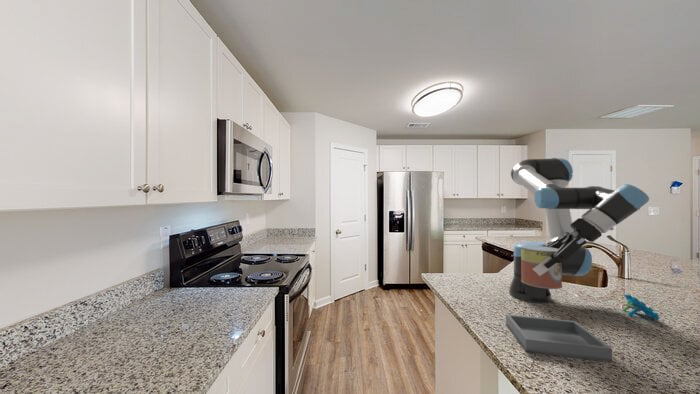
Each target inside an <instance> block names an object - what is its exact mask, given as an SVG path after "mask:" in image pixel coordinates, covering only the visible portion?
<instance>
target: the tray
mask: <svg viewBox="0 0 700 394" xmlns="http://www.w3.org/2000/svg"><path fill="white" fill-rule="evenodd" d="M505 325H506V327H507V328H508V330H509V331H510V332H511V334H512V335H513V336H514V338H515V339H516V341H517V342H518V343H519V345H520V346H521V347H522V349H523V350H524V351H525V352H527V353H534V354H543V355H551V356H558V357H566V358H572V359H573V358H575V359H582V360H590V361H591V360H592V361H599V362H604V363H605V362H606V363H613V348H611V347H610V346H609V345H608V344H607V343H605V342H604V341H603V340H601V339H600V338H598V337H597V336H596V335H594V333H592V332H591V331H589V330H587V329H586V328H585V327H584V326H582V325H581V324H579V322H577V321H576V320H568V319H567V320H566V319H558V318H557V319H556V318H549V317H548V318H547V317H536V316H524V315H514V314H507V313H506V314H505Z"/></svg>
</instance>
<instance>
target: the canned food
mask: <svg viewBox="0 0 700 394" xmlns="http://www.w3.org/2000/svg"><path fill="white" fill-rule="evenodd" d="M557 250H558V249H557V248H552V247H544V246H521V276H522V280H521V281H522V282H523V283H525V284H527V285H530V286H534V287H539V288H545V289H549V290H561V289H562V288H563V282H562V281H563V275H562V263H558V264H556V265H555V266H553V267H552V268H551V269H549V270H548V271H547V272H545V273H544V274H542V275H541V276H539V275H538V274H537V273H536V272H535V271H534V270H533V268H534V267H536V266H537V265H539V264H540V263H541V262H543V261H544V260H545V259H547V258H548V257H549V255H550V254H554V253H555V252H556V251H557Z"/></svg>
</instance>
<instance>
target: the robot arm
mask: <svg viewBox="0 0 700 394" xmlns="http://www.w3.org/2000/svg"><path fill="white" fill-rule="evenodd" d="M573 171H574V170H573V167H572V164H571V163H570V161H568V160H567V159H565V158H561V157H559V158H557V157H552V158H529V159H524V160H521V161H519V162H517V163H516V164H515V165H514V166H513V167H512V169H511V171H510V176H511V179H512V181H513V182H514V183H515V184H517V185H519V186H523V187H524V188H525V189H527V190H528V191H529V192H530V193H532V195H534V196H533V197H534V203H535V206H536V207H538V208H539V209H544V210H545V214H546V215H545V216H546V221H547V226H548V232H549V240H548V241H547V242H546V243H545V242H543V241H542V242H540V241H524V242H519V243H517V244H515V246H514V248H513V278H512V280H511V283H510V285H509V288H508V289H509V290H508V293H509V295H510V296H512V297H514V298H516V299H518V300H521V301H525V302H531V303H538V304H540V303H541V304H546V303H550V302H552V293H551V291H550V290H551V289H545V288H539V287H534V286H530V285H527V284H525V283H523V282H522V281H521V280H522V276H521V246H544V247H552V248H557V249H558V250H557V251H556V252H555V253H554V254H550V255H549V257H548V258H547V259H545V260H544V261H543V262H541V263H540V264H539V265H537V266H536V267H534V268H533V270H534V271H535V272H536V273H537V274H538V275H539V276H541V275H542V274H544V273H545V272H547V271H548V270H549V269H551V268H552V267H553V266H555V265H556V264H558V263H562V276H571V277H574V276H581V277H582V276H585V275H587V274H588V273H589V272H590V271H591V269H592V265H593V257H592V256H593V255H592V253H591V251H590V250H589V249H588V248H587V247H583V246H584V245H586V244H587V243H588V242H591V243H594V242H595V241H596V240H598V239H599V238H601V237H602V235H603V234H606V233H607V232H609V231H614V230H615V228H614V227H616V226H617V225H618V224H620V223H621V222H623V221H624V220H626V219H627V218H629V217H630V216H632V215H634V213H636V212H638V211H639V210H641V208H642V207H643V206H645V205H646V204H647V203H648V202H649V201H650V197H649V195H648V194H647V193H646V192H644V190H642V189H641V188H639V187H637V186H635V185H632V184H628V183H625V184H622V185H620V186H619V187H617V188H616V189H609V188H605V187H603V186H594V185H590V186H585V187H567V186H568V185H569V183H570V182H571V181H572V179H573ZM571 210H587V211H586V212H584V213H583V214H582V215H581V217H579V218H577V219H576V220H574V221H573V219H572V215H571Z"/></svg>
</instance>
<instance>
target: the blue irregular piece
mask: <svg viewBox="0 0 700 394" xmlns="http://www.w3.org/2000/svg"><path fill="white" fill-rule="evenodd" d="M623 296H624V297H625V300H626V306H625V307H624V308H623V309H622V311H624V312H626V311H627V310H629V309H632V310H631V311H629V312H628V316H630V317H632V316H634V315H635V314H637V313H638V312H643V313H644V315H646V316H648V317H649V316H650V317H651V318H652V319H656V320H659V319H660V315H659V314H658V313H657V312H655V311H654V309H652V307H648V306H646V303H645V302H644V301H640V300H639V299H638V298H637V297H636V296H632V295H631V294H627V293H626V294H624V295H623Z"/></svg>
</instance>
